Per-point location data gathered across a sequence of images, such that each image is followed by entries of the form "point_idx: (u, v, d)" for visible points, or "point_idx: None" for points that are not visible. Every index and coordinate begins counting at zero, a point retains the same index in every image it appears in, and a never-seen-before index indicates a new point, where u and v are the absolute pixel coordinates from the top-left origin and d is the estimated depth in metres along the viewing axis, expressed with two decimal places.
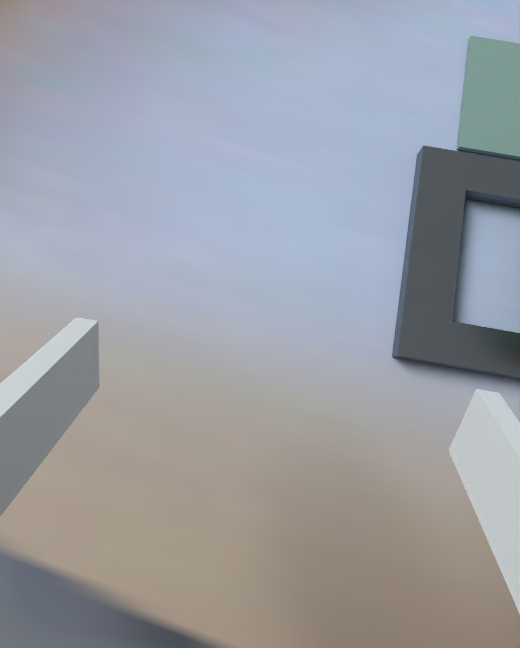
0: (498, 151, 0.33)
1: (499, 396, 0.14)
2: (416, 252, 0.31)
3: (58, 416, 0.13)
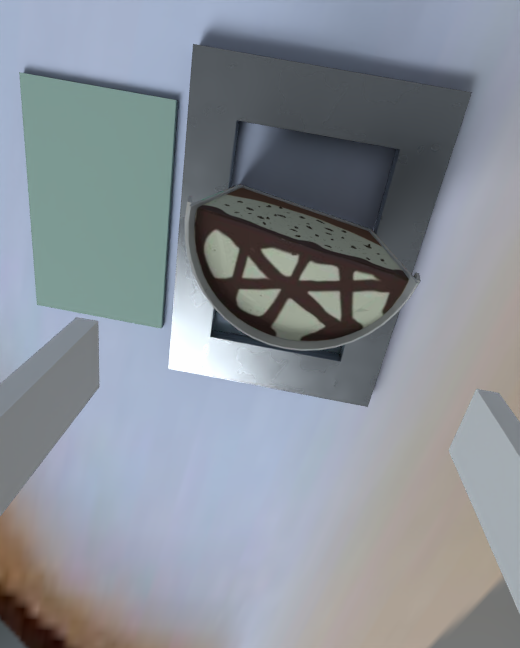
0: (161, 292, 0.32)
1: (499, 396, 0.14)
2: (273, 383, 0.34)
3: (59, 416, 0.13)
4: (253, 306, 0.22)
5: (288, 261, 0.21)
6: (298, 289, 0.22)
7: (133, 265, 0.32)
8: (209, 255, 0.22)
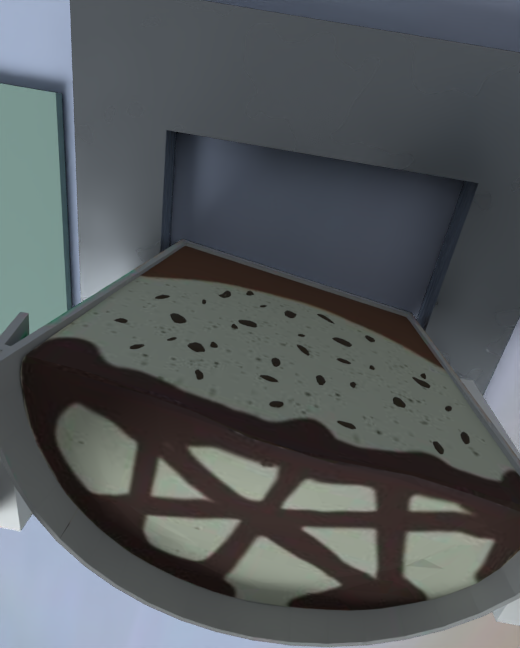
0: None
1: (472, 383, 0.15)
2: None
3: None
4: (182, 544, 0.10)
5: (253, 476, 0.09)
6: (280, 522, 0.09)
7: None
8: (71, 452, 0.09)
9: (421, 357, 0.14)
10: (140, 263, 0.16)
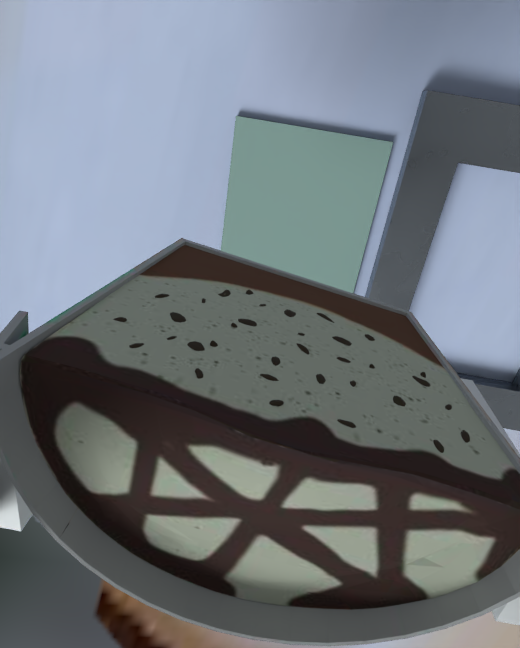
0: None
1: (472, 383, 0.15)
2: None
3: None
4: (182, 543, 0.10)
5: (253, 475, 0.09)
6: (280, 521, 0.09)
7: None
8: (70, 451, 0.09)
9: (421, 356, 0.14)
10: (422, 234, 0.28)
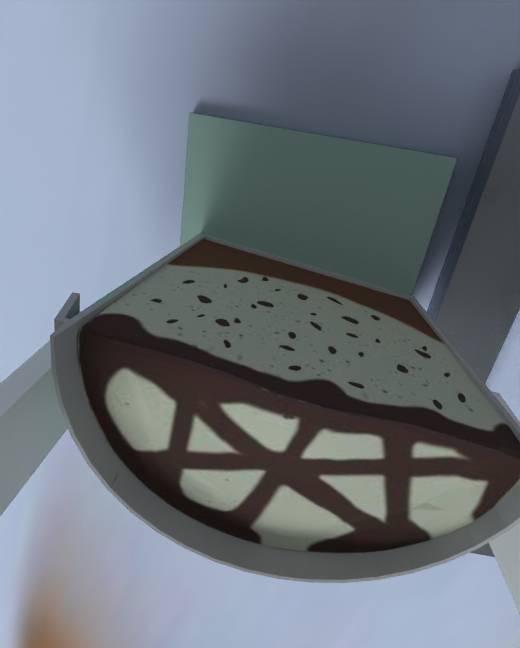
0: None
1: (499, 396, 0.14)
2: None
3: (59, 416, 0.13)
4: (214, 495, 0.12)
5: (277, 428, 0.10)
6: (300, 472, 0.11)
7: None
8: (118, 412, 0.11)
9: (422, 333, 0.15)
10: (500, 308, 0.17)
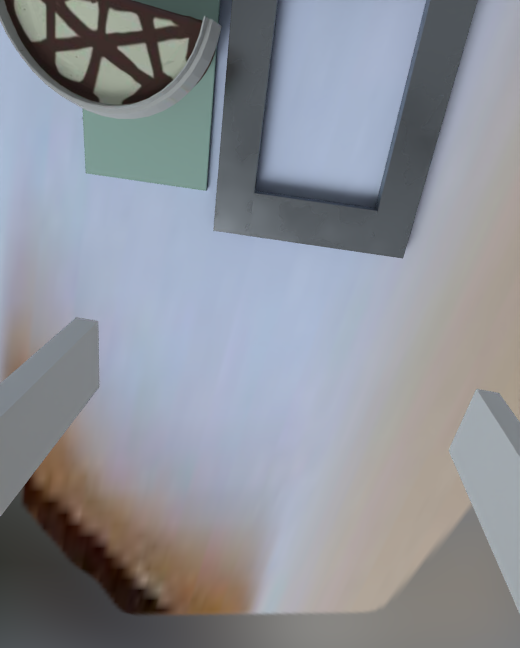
0: (206, 151, 0.34)
1: (499, 396, 0.14)
2: (314, 240, 0.36)
3: (58, 416, 0.13)
4: (72, 70, 0.24)
5: (90, 11, 0.23)
6: (108, 45, 0.23)
7: (180, 123, 0.33)
8: (21, 16, 0.23)
9: None
10: (262, 38, 0.30)
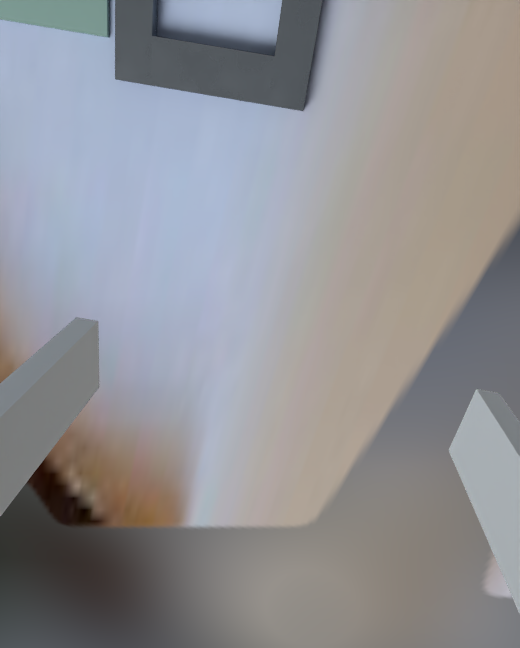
0: None
1: (499, 396, 0.14)
2: (214, 89, 0.36)
3: (58, 416, 0.13)
4: None
5: None
6: None
7: None
8: None
9: None
10: None
